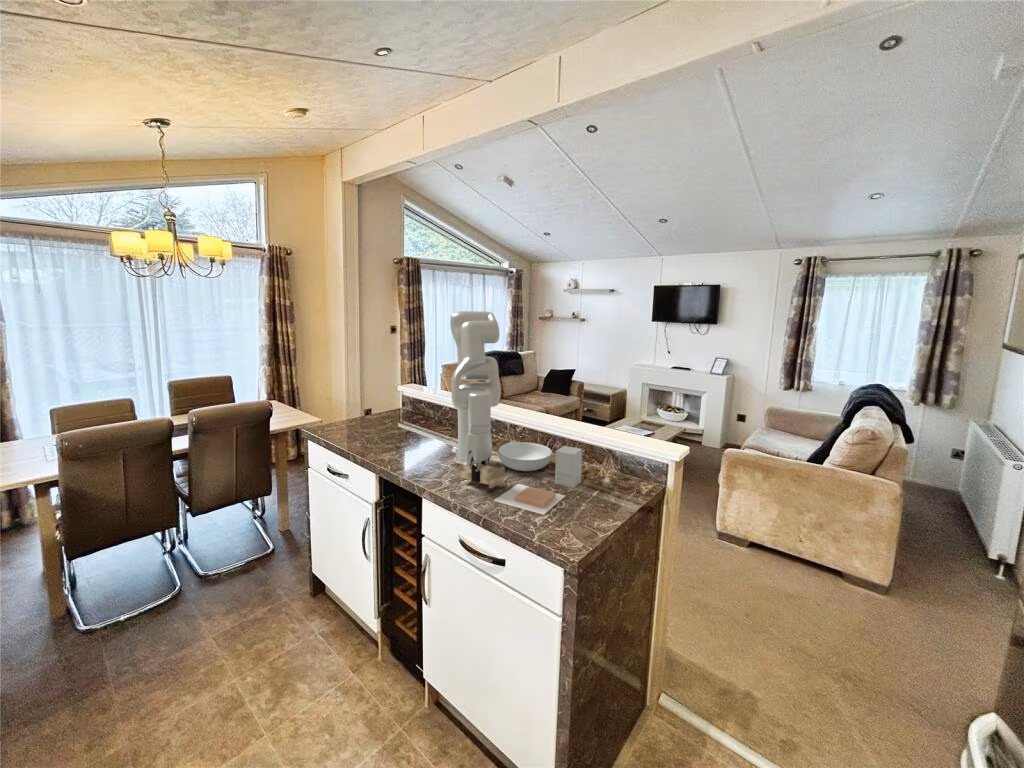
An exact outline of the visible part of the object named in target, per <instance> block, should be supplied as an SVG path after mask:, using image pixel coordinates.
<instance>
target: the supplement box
mask: <svg viewBox="0 0 1024 768" xmlns="http://www.w3.org/2000/svg"><path fill="white" fill-rule="evenodd" d="M582 462H583V448H579V447H573V446H566V445H563V446H561V447H560V448H558V449H557V450H555V469H554V470H555V472H554V473H555V474H554V476H555V477H554V478H555V479H554V484H556V485H560V486H563V487H564V486H565V487H568V488H573V489H574V488H575V487H576V486H578V484H579V483H580V484H582V466H583V465H582ZM580 484H579V485H580Z"/></svg>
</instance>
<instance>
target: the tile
mask: <svg viewBox="0 0 1024 768" xmlns="http://www.w3.org/2000/svg"><path fill="white" fill-rule="evenodd" d="M555 497H556V492H552V491H549V490H545V489H540V488H537V487H533V486H529V487H527V488H526V489H524V490H523V491H522V492H520V493H519V494H517V495H516V496H515V500H516V501H518V502H522V503H526V504H529V505H533V506H537V507H540V508H544V507H545V506H546V505H547V504H548V503H550V502H551V501H552V500H553V499H554V498H555Z"/></svg>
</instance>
